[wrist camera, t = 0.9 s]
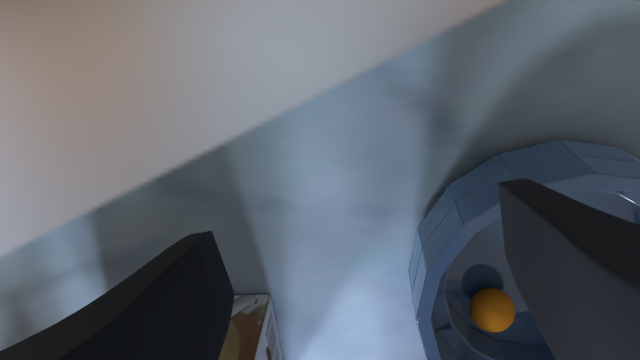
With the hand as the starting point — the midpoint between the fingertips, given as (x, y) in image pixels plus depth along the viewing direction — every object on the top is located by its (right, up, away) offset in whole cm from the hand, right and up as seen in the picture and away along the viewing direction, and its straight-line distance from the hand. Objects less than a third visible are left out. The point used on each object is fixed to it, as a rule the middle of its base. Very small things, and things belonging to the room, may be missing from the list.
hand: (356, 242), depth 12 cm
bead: (+7, -4, +11) cm, 14 cm away
